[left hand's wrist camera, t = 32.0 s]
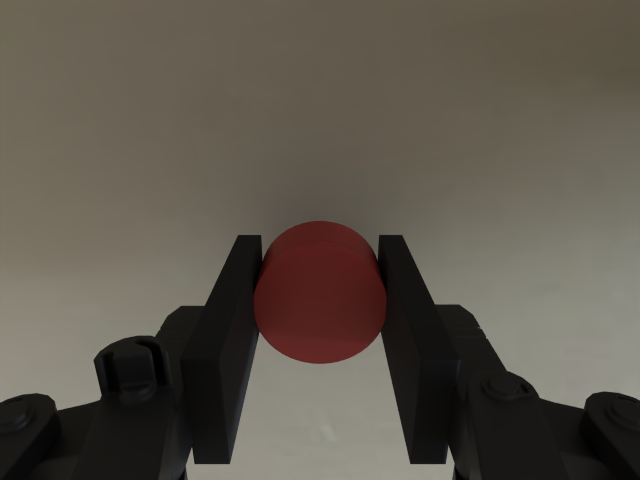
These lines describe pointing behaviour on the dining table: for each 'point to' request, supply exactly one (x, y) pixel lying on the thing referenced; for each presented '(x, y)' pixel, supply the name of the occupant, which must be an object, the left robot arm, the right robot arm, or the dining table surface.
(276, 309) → the cap
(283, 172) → the dining table surface
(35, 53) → the dining table surface
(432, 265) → the dining table surface
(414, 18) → the dining table surface
